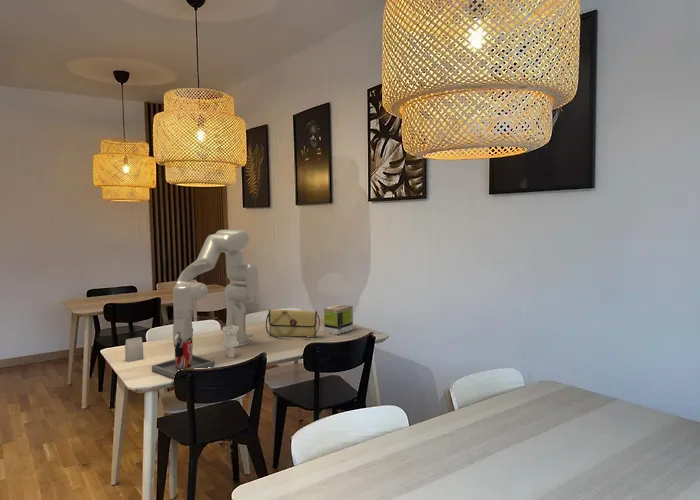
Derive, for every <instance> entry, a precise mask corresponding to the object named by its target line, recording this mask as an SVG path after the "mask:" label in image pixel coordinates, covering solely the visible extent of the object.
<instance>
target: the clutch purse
mask: <svg viewBox="0 0 700 500" xmlns="http://www.w3.org/2000/svg"><path fill="white" fill-rule="evenodd" d="M266 314H267V315H266V319H265V330H266V332H267V334H268V335H269V336H270V337H273V338H276V339H279V338H278V337H286V336H309V337H308V338H309V339H308V340H310V339H312V337H316V338H317V333H318V332H319V329H320V326H321V319H320V314H319V313H318V311H317V310H297V309H296V310H295V309H293V310H290V309H269V310H268V312H266ZM317 320H318V328H317ZM268 324H269V330H268Z"/></svg>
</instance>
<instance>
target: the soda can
mask: <svg viewBox="0 0 700 500" xmlns="http://www.w3.org/2000/svg"><path fill="white" fill-rule="evenodd" d="M180 343H181V342H179V344H180ZM192 344H193V342H192V343H191V341H190V339H187V340H186V341H184V342H183V345H182V347H183V356H182V357H176V356H175V355H174V359H175V366H176V368H178V369H187V368H190V367H191V366H192V355H193V349H192Z"/></svg>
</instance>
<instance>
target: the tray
mask: <svg viewBox="0 0 700 500" xmlns="http://www.w3.org/2000/svg"><path fill="white" fill-rule="evenodd" d="M208 367H212V368H215V360H212V359H208V358H206V357H202V356H200V355H199V356H198V355H195V354H192V366H191V367H190V368H187V369H194V368H208ZM178 370H181V369H178V368H176V366H175V358H174V359H172V360H171V359H170V360H167V361H163V362H159V363H155V364H153V365H151V372H153V373H155V374H158V375H161V376H163V375H164V377H165V378H169V379H171V378H172V379H171V380H175V379H174V376H175V374H176V373H177V372H178Z"/></svg>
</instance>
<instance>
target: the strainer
mask: <svg viewBox="0 0 700 500" xmlns="http://www.w3.org/2000/svg"><path fill="white" fill-rule="evenodd" d="M231 328H233V329H231ZM222 331H223V332H224V333H223V335H224V337H223V338H224V341H223V343H222V347H225V348H227V358H231V359H232V358H234V357H235V348H236V346H238V345H239V342H237V331H238V327H237V326H234V325H233V326H227V325H226V326H223V327H222ZM229 333H230V334H229Z"/></svg>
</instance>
